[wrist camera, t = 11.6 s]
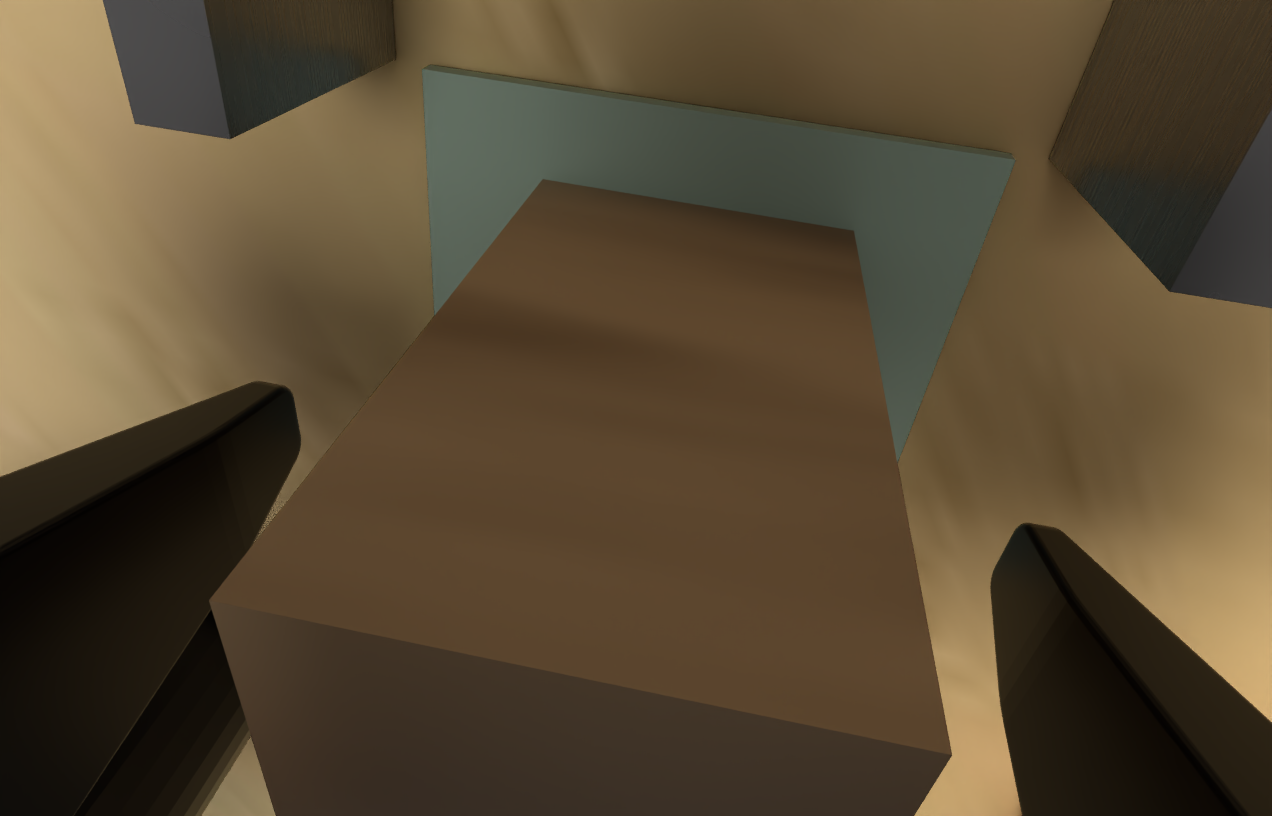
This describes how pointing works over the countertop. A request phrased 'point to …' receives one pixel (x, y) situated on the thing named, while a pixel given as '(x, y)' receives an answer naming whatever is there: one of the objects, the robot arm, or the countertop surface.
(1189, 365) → the countertop surface
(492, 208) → the mat
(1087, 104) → the bent rails
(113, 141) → the countertop surface
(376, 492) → the walnut block
